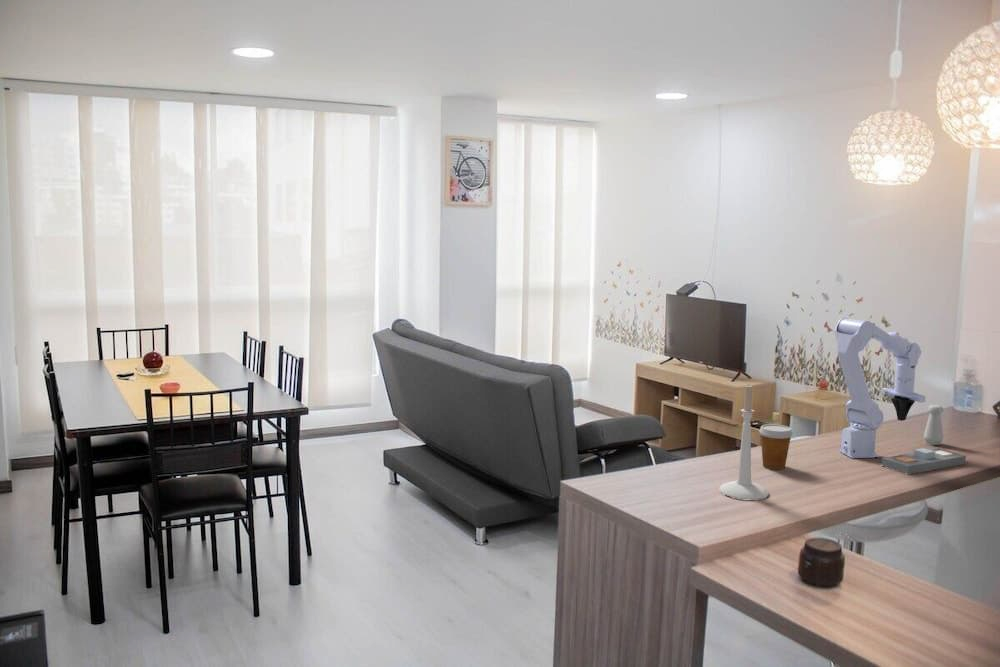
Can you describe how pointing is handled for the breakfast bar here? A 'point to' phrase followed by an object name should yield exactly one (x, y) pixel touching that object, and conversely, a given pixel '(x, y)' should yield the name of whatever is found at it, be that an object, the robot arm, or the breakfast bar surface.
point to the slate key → (924, 454)
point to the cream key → (943, 453)
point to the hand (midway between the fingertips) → (901, 420)
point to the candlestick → (745, 460)
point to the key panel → (923, 462)
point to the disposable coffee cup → (775, 445)
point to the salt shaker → (934, 426)
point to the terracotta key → (905, 459)
